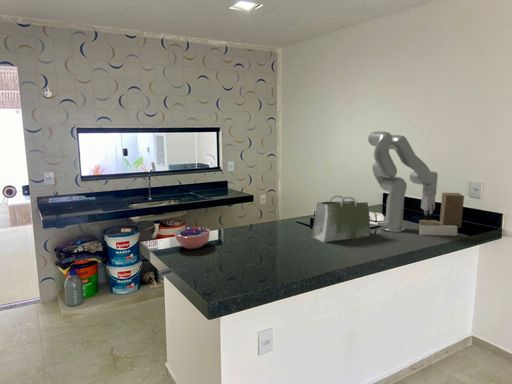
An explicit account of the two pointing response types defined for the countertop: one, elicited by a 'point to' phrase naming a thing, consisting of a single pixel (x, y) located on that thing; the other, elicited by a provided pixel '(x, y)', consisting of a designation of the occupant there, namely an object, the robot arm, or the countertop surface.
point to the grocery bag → (341, 220)
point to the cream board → (438, 230)
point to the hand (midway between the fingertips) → (427, 221)
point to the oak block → (430, 222)
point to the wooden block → (451, 209)
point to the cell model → (192, 237)
